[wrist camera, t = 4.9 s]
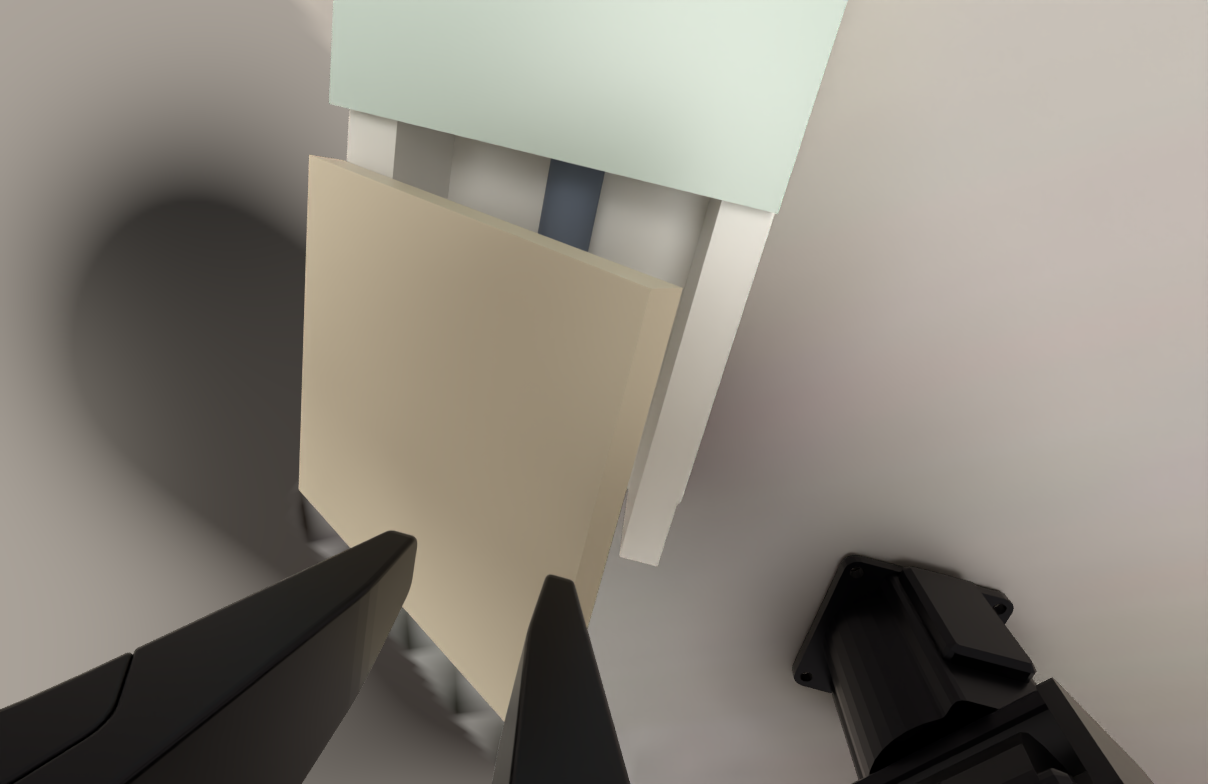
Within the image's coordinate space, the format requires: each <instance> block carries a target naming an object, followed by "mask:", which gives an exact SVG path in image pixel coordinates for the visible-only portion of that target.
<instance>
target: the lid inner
mask: <svg viewBox="0 0 1208 784" xmlns="http://www.w3.org/2000/svg"><path fill="white" fill-rule="evenodd" d="M306 242H307V244H306V274H305V307H304V339H303V371H302V402H301V403H302V404H301V435H300V467H299V490H300V491H301V493H302V494H303V495H304V496H305V497H306V498H307V499H308V500H309V502H310V503H311V504H312V505H313V506H314V507H315V508H316V509H317V511H318V512H319V513H320V514H321V515H322V516H323V517H324V519H325V520H326V521H327V522H328V523H329V524H330V525H331V526H332V528H333V529H334V530H335V531H336V532H337V533H338V534H339V535H340V537H341V538H342V539H343V540H344V541H345V542H346V543H347V545H348V546H349V547H350V548H352V547H354V546H356V545H358V544H360V543H362V542H364V541H367V540H369V539H371V538H373V537H375V536H377V535H379V534H381V533H384V532H386V531H389V530H395V531H398V532H402V533H405V534H409V535H413V536H414V537H415V538H416V539H417V552H416V558H415V565H414V572H413V579H412V584H411V587H410V590H409V593H408V595H407V598H406V600H405V602H404V604H403V606H402V607H403V608H404V609H405V610H406V611H407V612H408V613H409V615H410V616H411V617H412V618H413V619H414V620H415V621H416V622H417V624H418V625H419V626H420V627H421V628H422V629H423V630H424V632H425V633H426V634H427V635H428V636H429V637H430V638H431V639H432V641H433V642H434V643H435V644H436V645H437V646H438V647H439V648H440V650H441V651H442V652H443V653H444V654H445V655H446V656H447V657H448V659H449V660H450V661H451V662H452V663H453V664H454V665H455V667H456V668H457V669H458V670H459V671H460V672H461V673H462V674H463V676H464V677H465V678H466V679H467V680H468V681H469V682H470V683H471V685H472V686H473V687H474V688H475V689H476V690H477V691H478V693H479V694H480V695H481V696H482V697H483V698H484V699H485V700H486V702H487V703H488V704H489V705H490V706H491V707H492V708H493V709H494V711H495V712H496V713H497V714H498V715H499V716H500V717H501V718H502V720H503V721H505V717H506V713H507V709H508V705H509V702H510V698H511V694H512V690H513V686H514V682H515V678H516V674H517V670H518V666H519V662H520V658H521V654H522V650H523V646H524V642H525V638H526V634H527V630H528V627H529V623H530V620H531V617H532V615H533V612H534V609H535V606H536V603H537V600H538V597H539V594H540V591H541V588H542V585H543V582H544V580H545V577H546V576H547V575H549V574H552V575H556V576H560V577H563V578H567V579H570V580H572V581H573V582H574V584H575V587H576V590H577V594H578V598H579V601H580V605H581V608H582V612H583V616H584V619H585V623H586V626H587V629H588V625H589V622H590V618H591V615H592V611H593V607H594V604H595V600H596V597H597V593H598V590H599V586H600V582H601V579H602V575H603V572H604V568H605V565H606V561H607V557H608V554H609V550H610V547H611V543H612V540H613V536H614V532H615V529H616V525H617V522H618V518H619V515H620V511H621V507H622V504H623V500H624V497H625V493H626V490H627V486H628V482H629V479H630V475H631V472H632V468H633V465H634V461H635V457H636V454H637V450H638V447H639V443H640V440H641V436H642V432H643V429H644V425H645V422H646V418H647V415H648V411H649V407H650V404H651V400H652V397H653V393H654V390H655V386H656V383H657V379H658V375H659V372H660V368H661V365H662V361H663V358H664V354H665V350H666V347H667V343H668V340H669V336H670V333H671V329H672V325H673V322H674V318H675V315H676V311H677V308H678V304H679V300H680V297H681V293H682V290H683V288H682V287H679V286H676V285H674V284H671V283H668V282H666V281H663V280H660V279H658V278H655V277H652V276H650V275H647V274H644V273H642V272H639V271H636V270H634V269H631V268H629V267H626V266H623V265H621V264H618V263H615V262H613V261H610V260H607V259H605V258H602V257H599V256H597V255H594V254H591V253H589V252H586V251H583V250H581V249H578V248H575V247H573V246H570V245H567V244H565V243H562V242H559V241H557V240H554V239H551V238H549V237H546V236H543V235H541V234H538V233H535V232H533V231H530V230H528V229H525V228H522V227H520V226H517V225H514V224H512V223H509V222H506V221H504V220H501V219H498V218H496V217H493V216H490V215H488V214H485V213H482V212H480V211H477V210H474V209H472V208H469V207H466V206H464V205H461V204H458V203H456V202H453V201H450V200H448V199H445V198H442V197H440V196H437V195H434V194H432V193H429V192H426V191H424V190H421V189H419V188H416V187H413V186H411V185H408V184H405V183H403V182H400V181H397V180H395V179H392V178H389V177H387V176H384V175H381V174H379V173H376V172H373V171H371V170H368V169H365V168H363V167H360V166H357V165H355V164H352V163H349V162H347V161H344V160H340V159H333V158H326V157H321V156H314V155H309V179H308V210H307V241H306Z"/></svg>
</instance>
